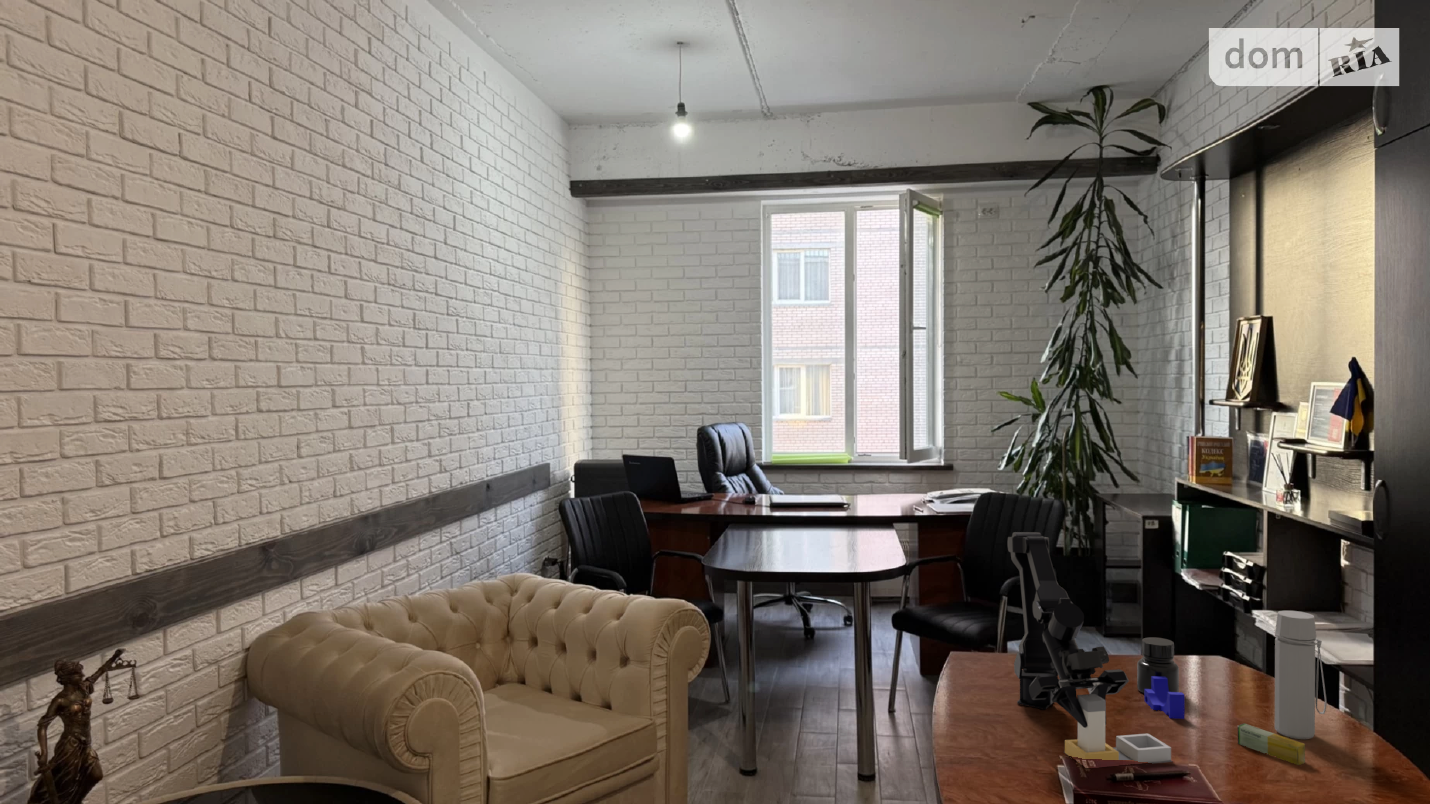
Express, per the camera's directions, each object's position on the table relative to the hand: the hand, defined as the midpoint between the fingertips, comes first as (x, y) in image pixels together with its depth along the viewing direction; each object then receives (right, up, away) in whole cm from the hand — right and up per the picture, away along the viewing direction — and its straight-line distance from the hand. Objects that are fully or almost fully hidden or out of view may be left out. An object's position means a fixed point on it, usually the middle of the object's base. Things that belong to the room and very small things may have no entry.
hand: (1095, 726), depth 174 cm
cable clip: (+27, -7, +28) cm, 39 cm away
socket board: (+5, -7, +2) cm, 9 cm away
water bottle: (+48, -7, +13) cm, 50 cm away
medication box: (+37, -7, +5) cm, 38 cm away
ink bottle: (+31, -6, +40) cm, 51 cm away
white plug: (0, -6, +2) cm, 6 cm away
